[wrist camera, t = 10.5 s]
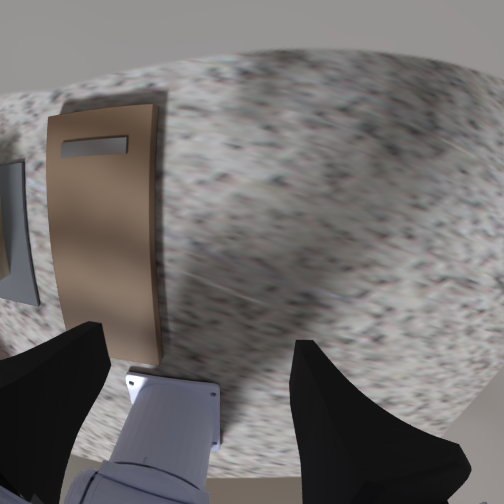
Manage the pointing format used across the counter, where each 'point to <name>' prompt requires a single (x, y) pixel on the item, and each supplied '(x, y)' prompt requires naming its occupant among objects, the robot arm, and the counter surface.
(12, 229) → the slate mat
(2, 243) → the cap
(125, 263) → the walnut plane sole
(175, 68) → the counter surface
